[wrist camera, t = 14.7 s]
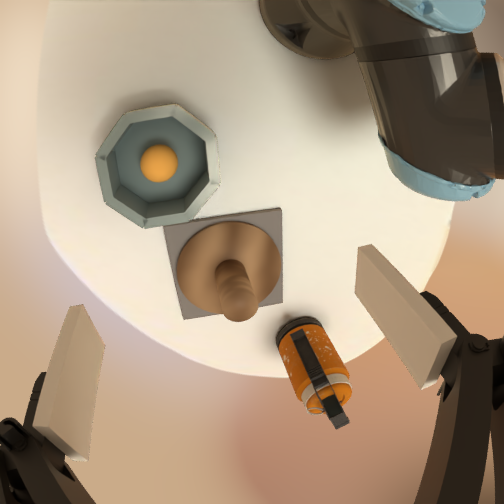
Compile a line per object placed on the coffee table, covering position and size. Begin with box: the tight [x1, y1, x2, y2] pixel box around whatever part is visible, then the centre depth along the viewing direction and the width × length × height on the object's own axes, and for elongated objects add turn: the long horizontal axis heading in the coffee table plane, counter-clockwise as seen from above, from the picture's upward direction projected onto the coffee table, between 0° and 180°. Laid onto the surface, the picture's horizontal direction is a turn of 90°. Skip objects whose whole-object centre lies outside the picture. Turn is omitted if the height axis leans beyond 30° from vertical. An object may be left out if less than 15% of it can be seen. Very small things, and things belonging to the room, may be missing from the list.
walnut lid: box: [177, 221, 281, 322], centre depth 42 cm, size 15×15×9 cm
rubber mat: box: [164, 208, 283, 320], centre depth 46 cm, size 16×16×1 cm
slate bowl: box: [95, 103, 221, 229], centre depth 34 cm, size 13×13×6 cm
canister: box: [276, 318, 352, 429], centre depth 48 cm, size 9×11×20 cm
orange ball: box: [140, 144, 178, 182], centre depth 34 cm, size 4×4×4 cm
